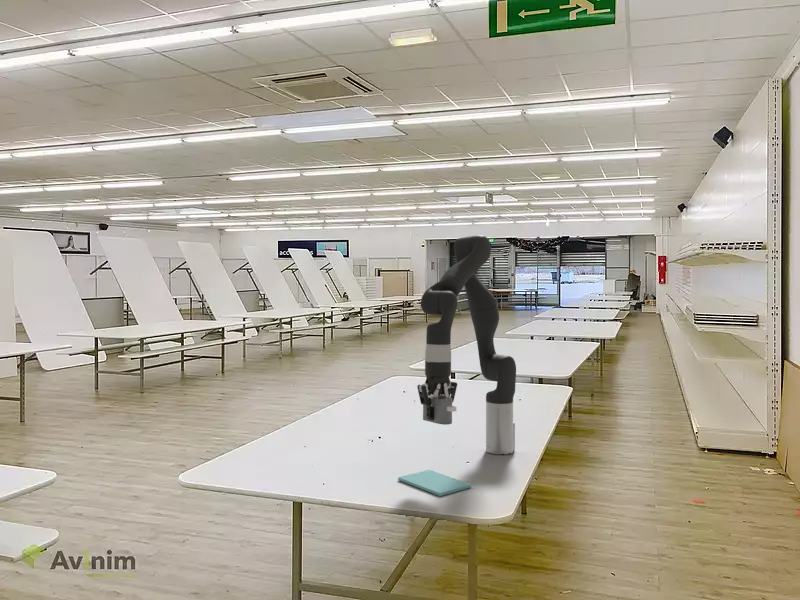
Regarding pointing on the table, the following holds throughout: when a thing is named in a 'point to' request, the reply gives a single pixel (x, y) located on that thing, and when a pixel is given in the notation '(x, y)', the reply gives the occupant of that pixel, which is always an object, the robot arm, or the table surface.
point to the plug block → (441, 411)
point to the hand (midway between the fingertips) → (437, 418)
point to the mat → (435, 482)
